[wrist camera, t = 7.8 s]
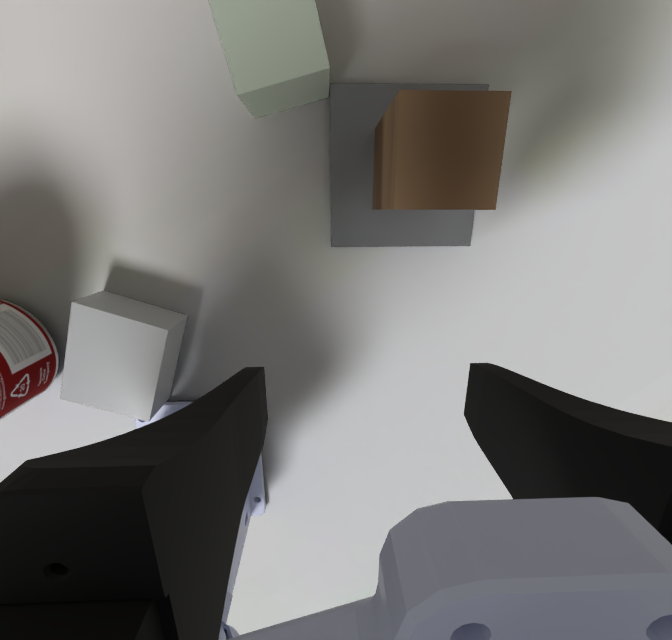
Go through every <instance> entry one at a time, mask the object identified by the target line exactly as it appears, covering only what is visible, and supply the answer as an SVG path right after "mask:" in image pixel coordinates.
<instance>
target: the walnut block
mask: <svg viewBox="0 0 672 640" xmlns="http://www.w3.org/2000/svg"><path fill="white" fill-rule="evenodd" d="M510 99H511V91H457V90H399V91H398V93H397V94H396V96H395V98H394V99H393V101H392V102H391V104H390V105H389V107H388V109H387V110H386V112H385V113H384V115H383V116H382V118H381V120H380V121H379V123H378V124H377V126H376V127H375V142H374V174H373V207H372V210H495V209H496V202H497V194H498V187H499V180H500V172H501V165H502V158H503V150H504V143H505V135H506V128H507V121H508V113H509V106H510Z"/></svg>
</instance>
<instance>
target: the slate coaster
mask: <svg viewBox="0 0 672 640" xmlns="http://www.w3.org/2000/svg"><path fill="white" fill-rule="evenodd" d="M488 87H489V84H377V83H330V154H331V247H379V246H470V243H471V235H472V226H473V217H474V210H372V207H373V174H374V142H375V127H376V126H377V124H378V123H379V121H380V120H381V118H382V116H383V115H384V113H385V112H386V110H387V109H388V107H389V105H390V104H391V102H392V101H393V99H394V98H395V96H396V94H397V93H398V91H399V90H457V91H488Z"/></svg>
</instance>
